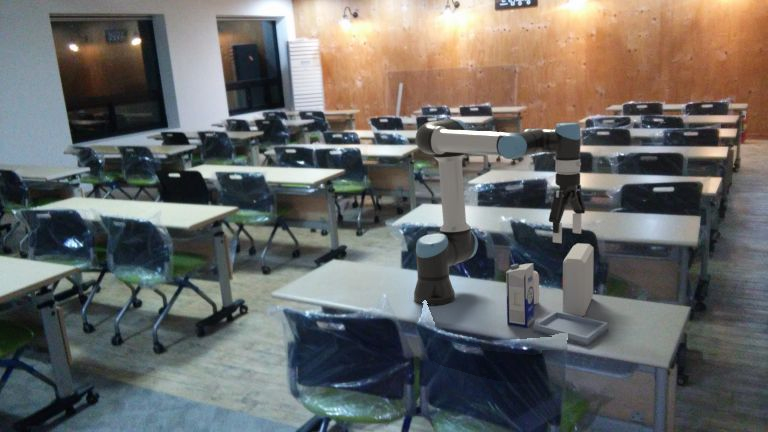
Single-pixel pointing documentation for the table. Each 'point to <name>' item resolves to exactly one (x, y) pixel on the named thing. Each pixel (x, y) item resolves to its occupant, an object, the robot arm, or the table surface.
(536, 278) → the photo printer
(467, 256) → the robot arm
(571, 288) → the bevelled white case
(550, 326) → the tray
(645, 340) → the table surface
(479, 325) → the table surface
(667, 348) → the table surface
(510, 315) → the milk carton
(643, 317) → the table surface
